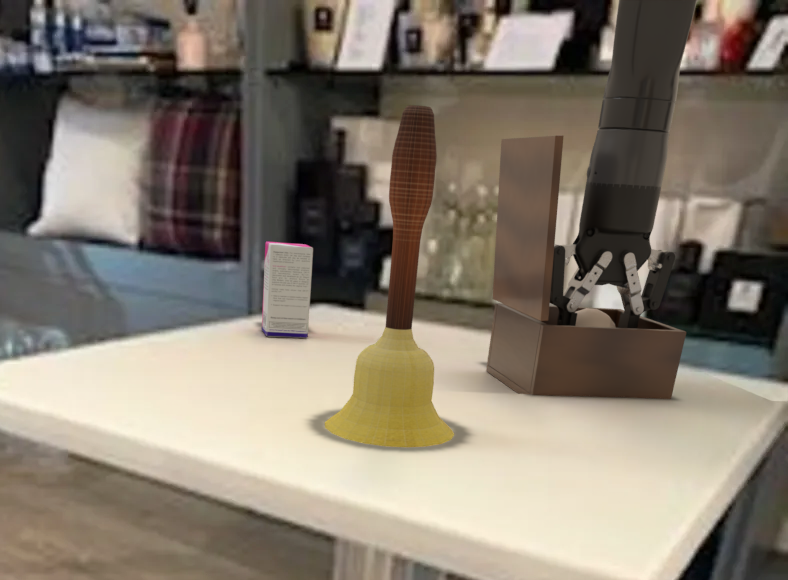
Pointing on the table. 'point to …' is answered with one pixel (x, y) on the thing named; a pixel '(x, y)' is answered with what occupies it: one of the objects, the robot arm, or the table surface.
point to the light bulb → (593, 318)
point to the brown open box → (583, 356)
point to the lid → (527, 223)
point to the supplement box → (286, 289)
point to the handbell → (399, 313)
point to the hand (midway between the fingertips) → (593, 346)
